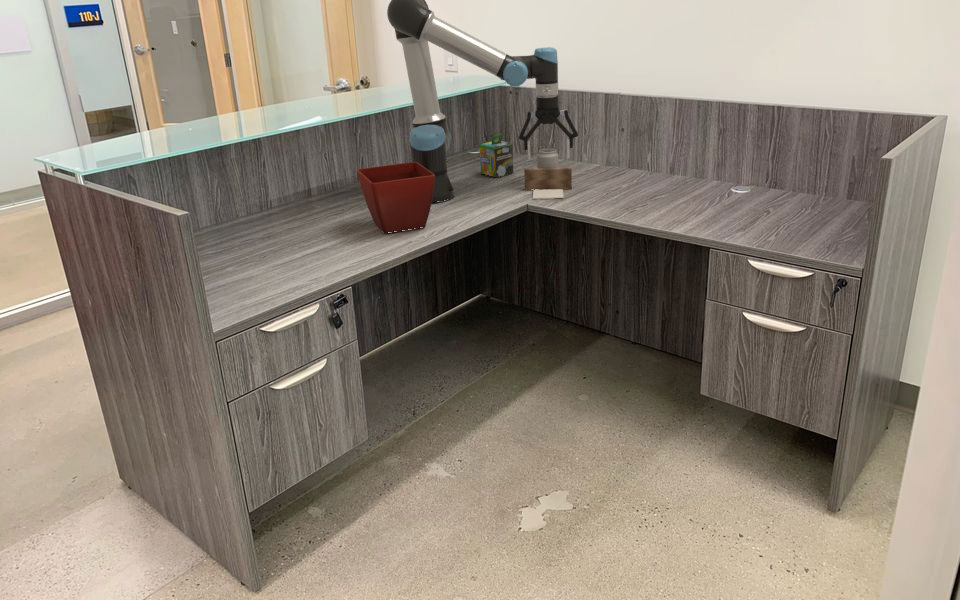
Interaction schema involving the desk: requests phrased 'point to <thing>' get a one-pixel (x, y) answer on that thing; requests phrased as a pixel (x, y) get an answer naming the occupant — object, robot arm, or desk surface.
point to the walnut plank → (548, 178)
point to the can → (547, 158)
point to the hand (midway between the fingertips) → (548, 158)
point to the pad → (548, 194)
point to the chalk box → (496, 157)
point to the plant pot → (398, 195)
